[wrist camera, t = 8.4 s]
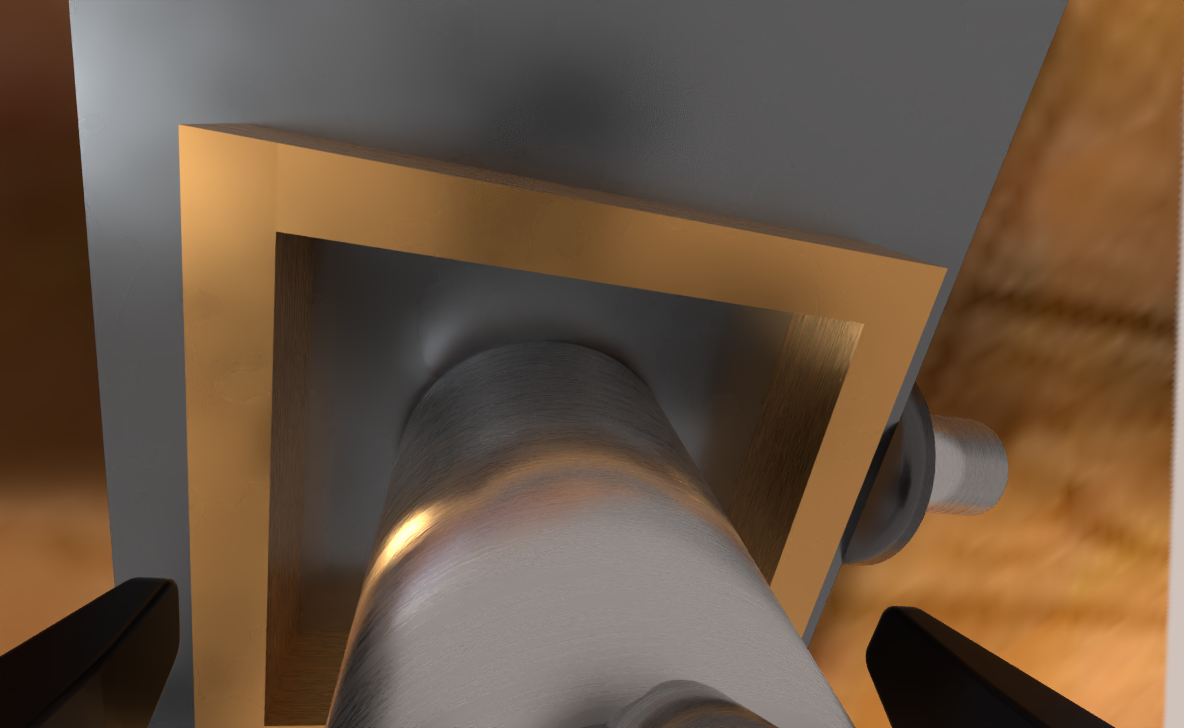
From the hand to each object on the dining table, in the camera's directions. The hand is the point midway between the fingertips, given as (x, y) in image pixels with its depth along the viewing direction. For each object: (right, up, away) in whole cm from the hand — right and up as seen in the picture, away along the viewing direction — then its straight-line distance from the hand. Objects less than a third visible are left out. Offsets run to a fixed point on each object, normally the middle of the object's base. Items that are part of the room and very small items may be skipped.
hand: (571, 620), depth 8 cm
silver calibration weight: (-1, +1, +4) cm, 4 cm away
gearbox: (+1, +3, +8) cm, 8 cm away
